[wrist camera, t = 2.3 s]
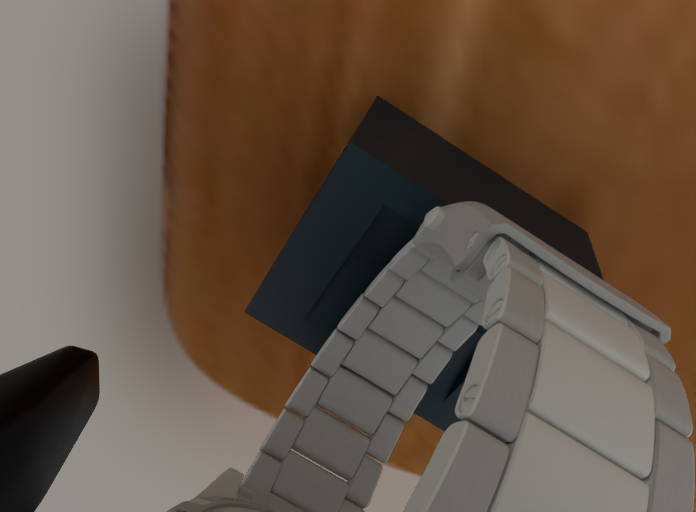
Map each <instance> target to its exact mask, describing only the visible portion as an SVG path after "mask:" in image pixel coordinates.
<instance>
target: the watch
mask: <svg viewBox="0 0 696 512" xmlns="http://www.w3.org/2000/svg"><path fill="white" fill-rule="evenodd" d="M245 313H247V314H248V315H250V316H252V317H253V318H255V319H257V320H258V321H260V322H262V323H263V324H265V325H267V326H269V327H270V328H272V329H274V330H275V331H277V332H279V333H280V334H282V335H284V336H285V337H287V338H289V339H290V340H292V341H294V342H295V343H297V344H299V345H301V346H302V347H304V348H306V349H307V350H309V351H311V352H312V353H314V354H316V356H315V358H314V359H313V361H312V363H311V366H312V367H314V368H316V369H318V370H319V371H321V372H323V373H324V374H326V375H328V376H329V378H328V377H327V376H326V375H324V374H322V373H321V372H319V371H317V370H316V369H314V368H312V367H309V369H308V370H307V371H306V373H305V374H304V376H303V377H302V379H301V380H300V382H299V384H298V385H297V387H296V388H295V390H294V391H293V393H292V394H291V396H290V398H289V399H288V401H287V402H286V404H285V406H286V407H288V408H289V409H291V410H293V411H295V412H296V413H298V414H300V415H301V416H303V417H305V419H302V418H300V417H298V416H297V415H295V414H293V413H292V412H290V411H288V410H286V409H283V411H282V412H281V414H280V415H279V417H278V419H277V420H276V422H275V424H274V425H273V427H272V429H271V431H270V432H269V434H268V435H267V437H266V439H265V441H264V442H263V444H262V446H261V447H260V451H261V452H259V453H258V455H257V456H256V458H255V460H254V461H253V463H252V465H251V467H250V469H249V470H248V472H247V474H246V476H245V477H244V475H243V474H242V473H240V472H238V471H237V470H235V469H233V468H230V469H228V470H226V471H225V472H224V473H223V474H222V475H220V476H219V477H218V478H217V479H216V480H215V481H214V482H212V483H211V484H210V485H209V486H208V487H207V488H206V489H205V490H204V491H202V492H201V493H200V494H199V495H198V496H196V497H195V498H194V499H192V500H190V501H185V502H182V503H180V504H179V505H177V506H175V507H173V508H171V509H170V510H168V511H167V512H364V510H363V508H366V507H367V506H368V505H369V503H370V501H371V498H372V495H373V492H374V490H375V487H376V485H377V482H378V480H379V478H380V475H381V473H382V469H383V467H382V465H381V464H379V463H378V462H376V461H374V460H373V459H371V458H369V457H367V456H366V455H364V454H365V453H367V454H369V455H370V456H372V457H374V458H376V459H377V460H379V461H381V462H383V463H385V462H386V461H387V460H388V459H389V457H390V455H391V452H392V450H393V448H394V446H395V444H396V442H397V440H398V438H399V436H400V434H401V432H402V430H403V427H404V423H403V422H402V420H404V421H408V420H409V419H410V417H411V415H412V414H413V413H415V414H417V415H418V416H420V417H422V418H423V419H425V420H427V421H428V422H430V423H432V424H433V425H435V426H437V427H439V428H440V429H442V430H444V431H445V432H444V434H443V435H442V437H441V439H440V441H439V443H438V445H437V447H436V449H435V451H434V453H433V455H432V457H431V459H430V461H429V463H428V465H427V467H426V469H425V471H424V473H423V475H422V477H421V479H420V481H419V483H418V484H417V486H416V488H415V490H414V492H413V494H412V496H411V498H410V499H409V501H408V503H407V505H406V507H405V510H404V512H693V509H694V490H695V464H694V448H693V444H692V442H691V441H690V440H689V439H687V438H688V437H689V436H690V435H691V434H692V431H693V424H692V418H691V413H690V409H689V404H688V400H687V396H686V392H685V390H684V387H683V384H682V381H681V379H680V377H679V376H678V374H676V373H675V372H674V370H675V368H676V365H675V362H674V360H673V358H672V356H671V355H670V353H669V352H668V350H667V349H666V347H665V346H664V345H663V344H665V343H667V342H668V341H669V340H670V339H671V328H670V327H669V326H668V325H667V324H665V323H664V322H663V321H662V320H661V319H659V318H658V317H657V316H656V315H654V314H653V313H652V312H650V311H649V310H648V309H646V308H645V307H644V306H642V305H641V304H639V303H638V302H636V301H635V300H633V299H632V298H630V297H628V296H627V295H625V294H624V293H622V292H621V291H619V290H618V289H616V288H614V287H613V286H611V285H610V284H608V283H607V282H605V281H604V280H603V277H602V274H601V271H600V268H599V266H598V263H597V260H596V257H595V254H594V251H593V248H592V245H591V242H590V239H589V236H588V233H587V232H585V231H584V230H582V229H581V228H579V227H578V226H576V225H575V224H573V223H572V222H570V221H569V220H567V219H565V218H564V217H562V216H561V215H559V214H558V213H556V212H555V211H553V210H552V209H550V208H549V207H547V206H546V205H544V204H543V203H541V202H539V201H538V200H536V199H535V198H533V197H532V196H530V195H529V194H527V193H526V192H524V191H523V190H521V189H520V188H518V187H516V186H515V185H513V184H512V183H510V182H509V181H507V180H506V179H504V178H503V177H501V176H500V175H498V174H497V173H495V172H494V171H492V170H490V169H489V168H487V167H486V166H484V165H483V164H481V163H480V162H478V161H477V160H475V159H474V158H472V157H471V156H469V155H467V154H466V153H464V152H463V151H461V150H460V149H458V148H457V147H455V146H454V145H452V144H451V143H449V142H448V141H446V140H444V139H443V138H441V137H440V136H438V135H437V134H435V133H434V132H432V131H431V130H429V129H428V128H426V127H425V126H423V125H422V124H420V123H418V122H417V121H415V120H414V119H412V118H411V117H409V116H408V115H406V114H405V113H403V112H402V111H400V110H399V109H397V108H395V107H394V106H392V105H391V104H389V103H388V102H386V101H385V100H383V99H382V98H380V97H379V96H377V98H376V99H375V101H374V103H373V104H372V106H371V107H370V109H369V111H368V112H367V114H366V115H365V117H364V119H363V120H362V122H361V123H360V125H359V127H358V128H357V130H356V132H355V133H354V135H353V136H352V138H351V140H350V141H349V143H348V144H347V146H346V148H345V149H344V151H343V152H342V154H341V156H340V157H339V159H338V161H337V162H336V164H335V165H334V167H333V169H332V170H331V172H330V173H329V175H328V177H327V178H326V180H325V182H324V183H323V185H322V186H321V188H320V190H319V191H318V193H317V194H316V196H315V198H314V199H313V201H312V202H311V204H310V206H309V207H308V209H307V211H306V212H305V214H304V215H303V217H302V219H301V220H300V222H299V223H298V225H297V227H296V228H295V230H294V231H293V233H292V235H291V236H290V238H289V240H288V241H287V243H286V244H285V246H284V248H283V249H282V251H281V253H280V254H279V256H278V258H277V259H276V261H275V262H274V264H273V266H272V267H271V269H270V271H269V272H268V274H267V276H266V277H265V279H264V281H263V282H262V284H261V285H260V287H259V289H258V290H257V292H256V294H255V295H254V297H253V299H252V300H251V302H250V304H249V305H248V307H247V308H246V310H245ZM315 404H317V405H318V406H320V407H322V408H323V409H325V410H327V411H329V412H330V413H332V414H334V415H335V416H337V417H339V418H341V419H342V420H344V421H346V422H347V423H349V424H351V425H353V426H354V427H356V428H358V429H359V430H361V431H363V432H365V433H366V434H368V435H370V436H369V437H367V436H366V435H364V434H362V433H361V432H359V431H357V430H355V429H354V428H352V427H350V426H349V425H347V424H345V423H343V422H342V421H340V420H338V419H337V418H335V417H333V416H331V415H330V414H328V413H326V412H325V411H323V410H321V409H319V408H318V407H316V406H315ZM387 411H389V412H390V413H392V414H394V415H395V416H397V417H399V418H400V419H402V420H400V419H398V418H397V417H395V416H393V415H392V414H390V413H388V412H387ZM290 449H293V450H295V451H297V452H299V453H300V454H302V455H304V456H306V457H307V458H309V459H311V460H312V461H314V462H316V463H318V464H319V465H321V466H323V467H325V468H326V469H328V470H330V471H332V472H333V473H335V474H337V475H339V476H340V477H342V478H344V479H346V480H348V481H347V482H345V481H344V480H342V479H340V478H338V477H336V476H335V475H333V474H332V473H330V472H328V471H326V470H324V469H323V468H321V467H319V466H318V465H315V464H314V463H312V462H311V461H309V460H307V459H305V458H304V457H302V456H300V455H298V454H297V453H295V452H293V451H291V450H290ZM262 452H263V453H262ZM264 453H265V454H264ZM266 454H267V455H266ZM271 457H272V458H271ZM273 458H274V459H273ZM278 461H279V462H278ZM280 462H281V463H280ZM243 477H244V479H243ZM242 480H243V481H242ZM241 482H242V483H241ZM240 484H241V485H240ZM345 499H346V500H345ZM350 502H351V503H350ZM352 503H353V504H352ZM354 504H355V505H354ZM357 506H358V507H357ZM359 507H360V508H359ZM361 508H362V509H361Z"/></svg>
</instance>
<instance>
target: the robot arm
mask: <svg viewBox="0 0 696 512" xmlns="http://www.w3.org/2000/svg"><path fill="white" fill-rule="evenodd" d="M98 398H99V360H98V356H97V354H96V353H94V352H93V351H89V350H86V349H82V348H79V347H75V346H67V347H64V348H61V349H59V350H57V351H54V352H52V353H50V354H47V355H45V356H43V357H40V358H38V359H36V360H33V361H31V362H29V363H26V364H24V365H22V366H20V367H17V368H15V369H13V370H10V371H8V372H6V373H3V374H1V375H0V512H34V511H35V510H36V508H37V507H38V505H39V504H40V503H41V501H42V499H43V498H44V496H45V494H46V493H47V491H48V489H49V488H50V486H51V485H52V483H53V481H54V479H55V477H56V476H57V474H58V472H59V471H60V469H61V467H62V465H63V463H64V462H65V460H66V458H67V457H68V455H69V453H70V451H71V450H72V448H73V446H74V444H75V443H76V441H77V439H78V437H79V436H80V434H81V432H82V430H83V429H84V427H85V425H86V423H87V422H88V420H89V418H90V416H91V415H92V413H93V411H94V409H95V407H96V405H97V402H98Z"/></svg>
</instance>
